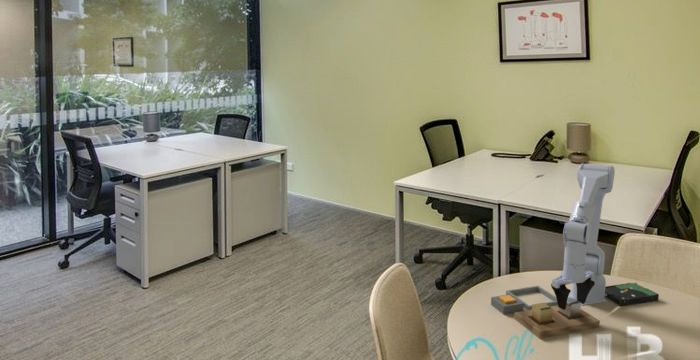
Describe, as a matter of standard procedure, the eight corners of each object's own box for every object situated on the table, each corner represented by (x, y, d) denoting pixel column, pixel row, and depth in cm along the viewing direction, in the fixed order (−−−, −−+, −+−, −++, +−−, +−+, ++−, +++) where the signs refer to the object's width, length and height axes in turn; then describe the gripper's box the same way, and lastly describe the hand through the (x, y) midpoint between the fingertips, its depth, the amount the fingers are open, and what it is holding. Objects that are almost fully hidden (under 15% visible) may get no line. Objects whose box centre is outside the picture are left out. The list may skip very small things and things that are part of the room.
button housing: (510, 302, 163) (510, 294, 163) (523, 312, 157) (523, 303, 156) (490, 305, 161) (491, 297, 161) (503, 315, 155) (503, 306, 154)
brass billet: (542, 321, 150) (543, 301, 149) (551, 327, 146) (552, 307, 145) (531, 323, 149) (532, 303, 148) (539, 329, 145) (540, 309, 144)
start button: (508, 303, 161) (509, 295, 160) (515, 308, 158) (515, 299, 157) (498, 305, 160) (499, 296, 159) (505, 310, 157) (505, 301, 156)
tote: (537, 291, 171) (538, 285, 171) (561, 306, 160) (562, 300, 159) (505, 296, 168) (506, 290, 167) (528, 312, 156) (528, 306, 156)
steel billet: (568, 315, 153) (570, 296, 152) (579, 321, 149) (581, 301, 148) (558, 318, 151) (560, 299, 150) (569, 324, 148) (571, 304, 147)
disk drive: (620, 308, 159) (658, 302, 162) (621, 300, 158) (659, 293, 162) (596, 295, 169) (633, 288, 172) (597, 287, 168) (634, 281, 172)
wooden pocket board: (570, 310, 157) (571, 302, 157) (599, 328, 146) (599, 320, 145) (514, 320, 152) (514, 312, 151) (539, 340, 141) (539, 331, 140)
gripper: (581, 253, 153) (578, 295, 156) (545, 261, 147) (542, 305, 150) (601, 261, 146) (597, 304, 149) (564, 270, 141) (561, 315, 144)
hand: (571, 305), depth 149 cm, fingers open, 7 cm apart
